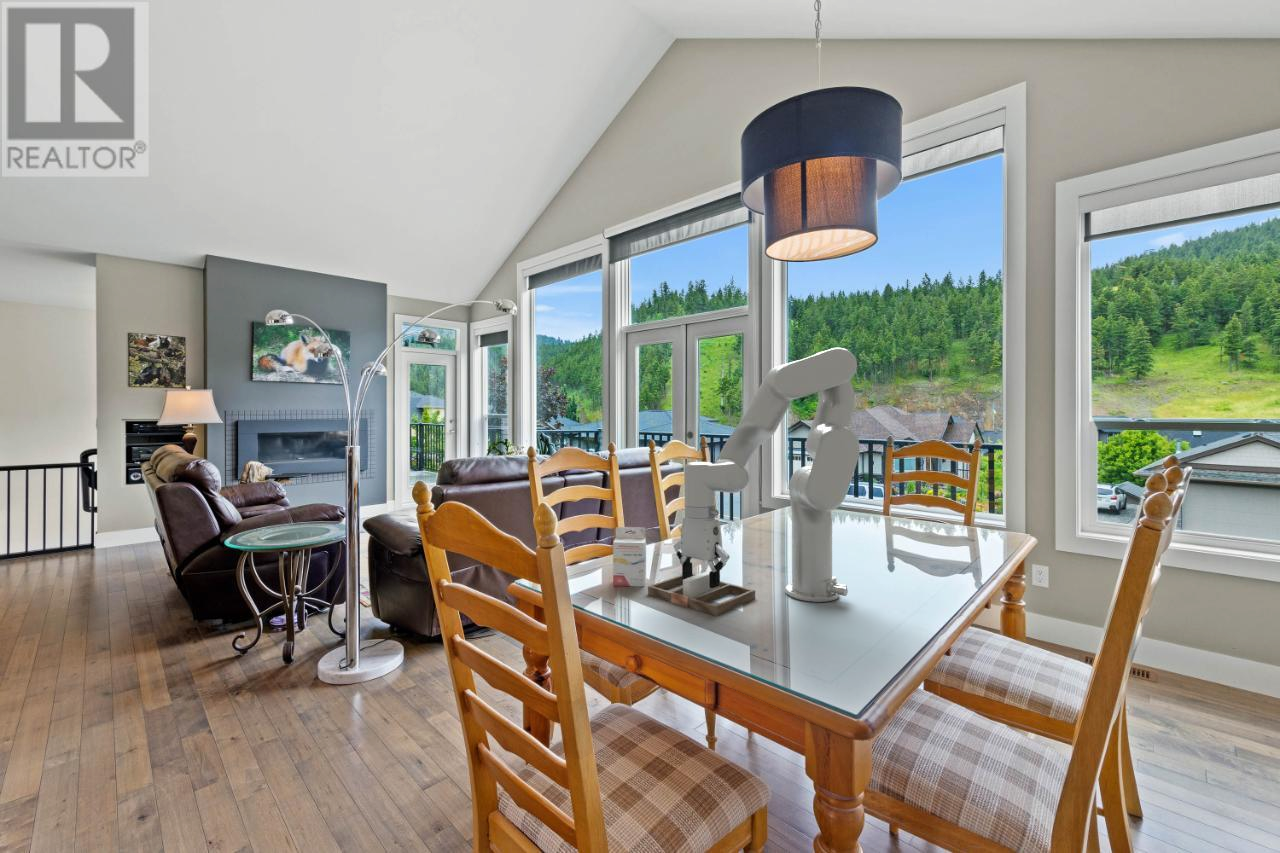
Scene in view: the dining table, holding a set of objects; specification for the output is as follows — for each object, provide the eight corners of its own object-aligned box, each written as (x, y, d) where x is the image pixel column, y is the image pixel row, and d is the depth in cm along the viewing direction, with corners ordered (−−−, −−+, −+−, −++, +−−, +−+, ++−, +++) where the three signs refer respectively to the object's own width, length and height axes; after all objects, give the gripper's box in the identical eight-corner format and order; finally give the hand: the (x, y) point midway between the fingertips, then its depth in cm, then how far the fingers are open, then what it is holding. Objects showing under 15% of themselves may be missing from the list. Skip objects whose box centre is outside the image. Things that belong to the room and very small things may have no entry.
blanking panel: (719, 590, 139) (719, 570, 139) (689, 602, 131) (689, 581, 131) (713, 588, 141) (713, 569, 140) (683, 600, 132) (682, 579, 132)
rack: (755, 598, 133) (755, 588, 133) (715, 616, 122) (715, 605, 122) (688, 580, 148) (688, 571, 148) (647, 594, 137) (647, 584, 137)
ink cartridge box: (612, 586, 144) (611, 530, 144) (615, 580, 149) (614, 526, 149) (645, 587, 143) (644, 530, 143) (646, 581, 148) (646, 526, 148)
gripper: (738, 514, 131) (739, 587, 132) (683, 506, 144) (683, 572, 144) (719, 519, 126) (720, 595, 126) (663, 510, 138) (664, 579, 139)
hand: (700, 582), depth 135 cm, fingers open, 8 cm apart
